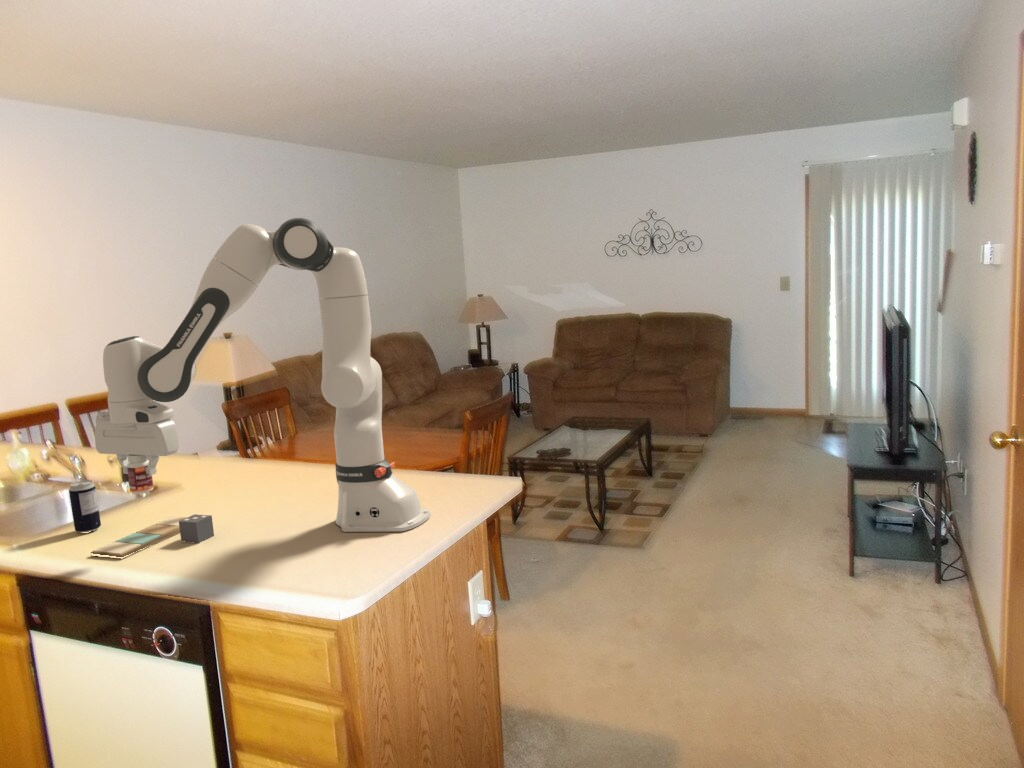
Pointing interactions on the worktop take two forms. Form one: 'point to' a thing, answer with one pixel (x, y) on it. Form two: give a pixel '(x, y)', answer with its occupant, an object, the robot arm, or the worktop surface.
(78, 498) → the beverage can
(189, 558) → the worktop surface
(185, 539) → the die
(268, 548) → the worktop surface
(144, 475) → the pill bottle
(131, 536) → the board
